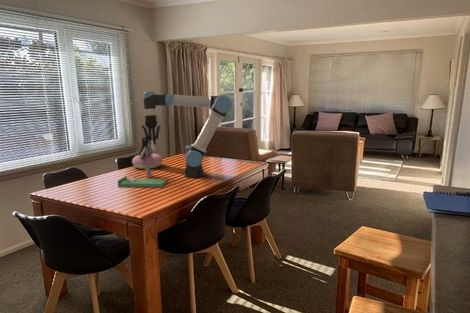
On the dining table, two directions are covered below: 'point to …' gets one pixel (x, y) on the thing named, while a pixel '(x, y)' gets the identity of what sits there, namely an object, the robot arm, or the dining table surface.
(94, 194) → the dining table surface
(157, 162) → the cushion
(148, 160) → the figurine
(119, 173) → the dining table surface
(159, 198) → the dining table surface
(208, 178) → the dining table surface
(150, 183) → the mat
